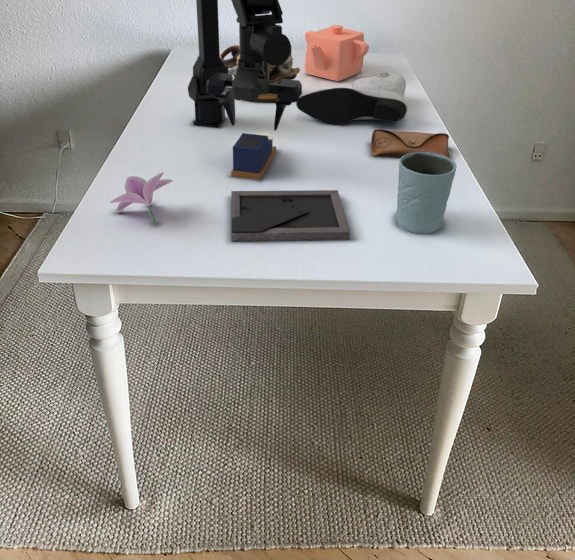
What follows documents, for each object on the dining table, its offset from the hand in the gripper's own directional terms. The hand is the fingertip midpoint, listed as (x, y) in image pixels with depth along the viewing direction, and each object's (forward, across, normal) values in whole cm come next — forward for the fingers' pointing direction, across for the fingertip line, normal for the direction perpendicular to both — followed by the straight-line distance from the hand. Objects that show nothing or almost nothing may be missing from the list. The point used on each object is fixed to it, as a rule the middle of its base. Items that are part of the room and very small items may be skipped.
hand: (254, 127), depth 130 cm
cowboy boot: (+8, +17, +40) cm, 44 cm away
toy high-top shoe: (+8, 0, 0) cm, 8 cm away
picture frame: (+8, +12, -21) cm, 26 cm away
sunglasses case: (+8, +33, +16) cm, 38 cm away
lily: (+8, -14, -27) cm, 32 cm away
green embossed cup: (+8, +36, -16) cm, 40 cm away
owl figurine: (+9, -8, +44) cm, 45 cm away
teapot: (+9, +6, +67) cm, 68 cm away
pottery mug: (+9, -22, +64) cm, 68 cm away
